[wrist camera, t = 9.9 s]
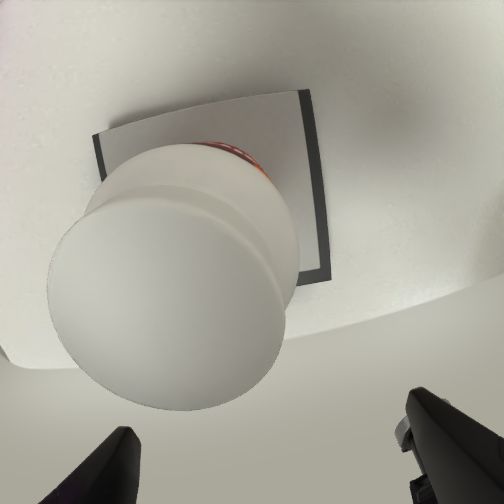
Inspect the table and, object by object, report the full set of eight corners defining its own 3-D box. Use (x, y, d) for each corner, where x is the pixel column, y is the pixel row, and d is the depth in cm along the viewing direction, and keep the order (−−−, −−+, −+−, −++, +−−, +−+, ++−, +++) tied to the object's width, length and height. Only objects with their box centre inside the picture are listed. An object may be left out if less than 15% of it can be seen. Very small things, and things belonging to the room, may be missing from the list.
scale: (323, 266, 20) (335, 286, 18) (148, 294, 20) (136, 316, 18) (302, 93, 16) (313, 86, 14) (105, 134, 16) (85, 135, 14)
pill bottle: (298, 188, 15) (400, 294, 5) (227, 279, 17) (214, 459, 7) (196, 116, 14) (93, 78, 4) (132, 216, 16) (1, 339, 5)
